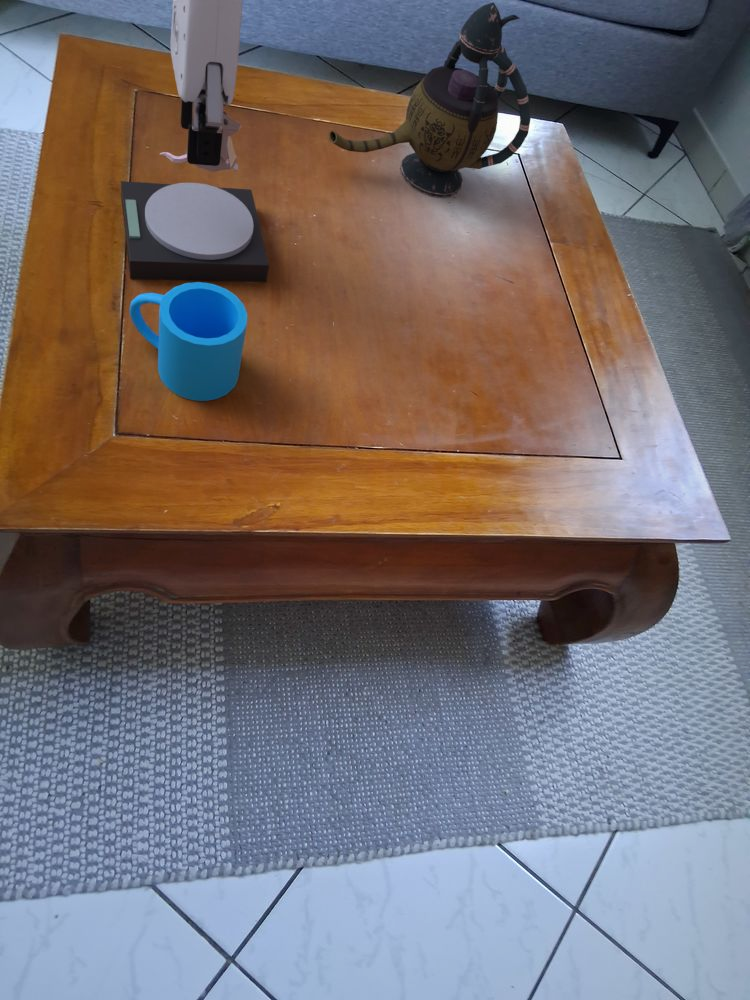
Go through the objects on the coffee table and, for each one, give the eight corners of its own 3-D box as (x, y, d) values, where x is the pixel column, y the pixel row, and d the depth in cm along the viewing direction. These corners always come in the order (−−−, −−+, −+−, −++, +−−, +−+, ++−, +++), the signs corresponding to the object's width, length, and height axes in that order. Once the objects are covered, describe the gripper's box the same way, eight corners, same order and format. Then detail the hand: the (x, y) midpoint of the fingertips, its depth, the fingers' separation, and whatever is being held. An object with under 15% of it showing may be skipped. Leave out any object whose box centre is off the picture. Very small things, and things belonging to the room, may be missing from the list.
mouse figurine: (158, 139, 80) (159, 76, 74) (234, 146, 82) (241, 87, 77) (161, 171, 77) (162, 108, 72) (240, 178, 80) (247, 118, 74)
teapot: (501, 206, 108) (578, 39, 89) (334, 202, 99) (380, 15, 80) (472, 151, 113) (539, -17, 94) (311, 142, 104) (349, -45, 85)
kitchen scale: (130, 278, 83) (129, 255, 80) (121, 199, 89) (120, 174, 86) (266, 282, 88) (270, 259, 85) (249, 206, 94) (252, 183, 91)
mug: (252, 363, 81) (262, 307, 74) (214, 413, 76) (220, 358, 70) (152, 312, 81) (153, 252, 74) (108, 359, 76) (104, 300, 70)
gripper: (156, -109, 66) (154, 92, 81) (178, -3, 58) (170, 198, 73) (242, -92, 69) (224, 99, 84) (274, 11, 61) (248, 202, 76)
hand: (199, 143), depth 78 cm, fingers closed on mouse figurine, 4 cm apart
